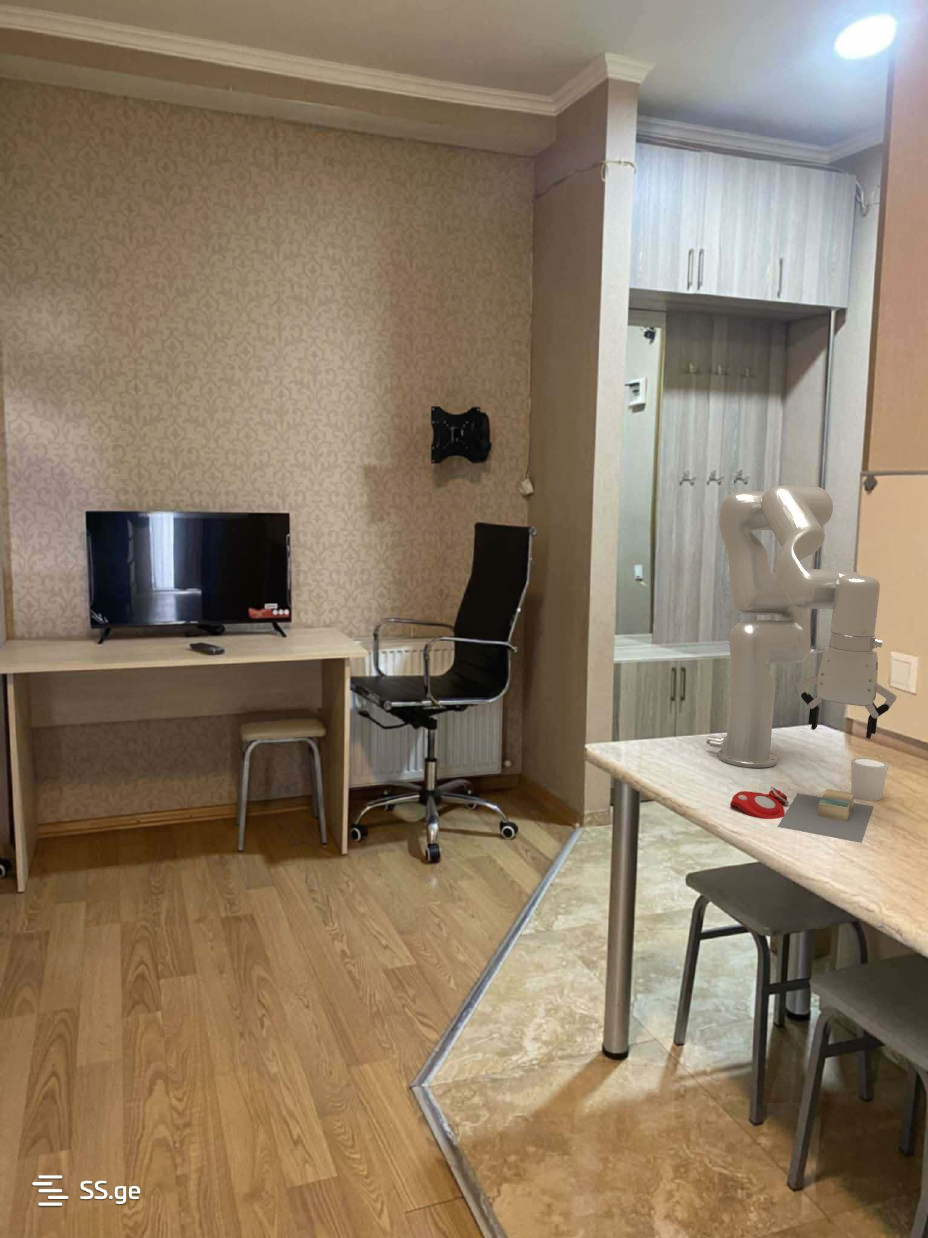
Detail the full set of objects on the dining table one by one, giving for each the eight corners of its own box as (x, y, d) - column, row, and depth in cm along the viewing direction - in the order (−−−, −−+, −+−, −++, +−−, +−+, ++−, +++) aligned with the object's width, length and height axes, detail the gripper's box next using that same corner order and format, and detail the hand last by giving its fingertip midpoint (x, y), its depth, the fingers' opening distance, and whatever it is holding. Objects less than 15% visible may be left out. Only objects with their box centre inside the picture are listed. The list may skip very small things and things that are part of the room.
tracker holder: (785, 821, 173) (731, 800, 176) (778, 840, 175) (724, 819, 178) (794, 788, 183) (742, 769, 186) (786, 806, 185) (736, 787, 188)
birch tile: (825, 801, 186) (826, 787, 186) (853, 806, 184) (854, 792, 183) (817, 816, 177) (819, 802, 177) (846, 821, 175) (847, 807, 175)
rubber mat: (777, 829, 171) (777, 826, 171) (797, 796, 190) (797, 793, 190) (861, 845, 165) (861, 842, 165) (873, 809, 184) (873, 806, 184)
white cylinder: (881, 804, 187) (885, 769, 186) (844, 797, 191) (848, 763, 190) (887, 795, 193) (890, 761, 192) (851, 788, 197) (854, 755, 196)
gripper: (903, 645, 175) (892, 735, 178) (805, 634, 183) (796, 720, 186) (901, 652, 169) (889, 745, 172) (798, 640, 177) (789, 729, 180)
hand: (841, 732), depth 179 cm, fingers open, 9 cm apart
